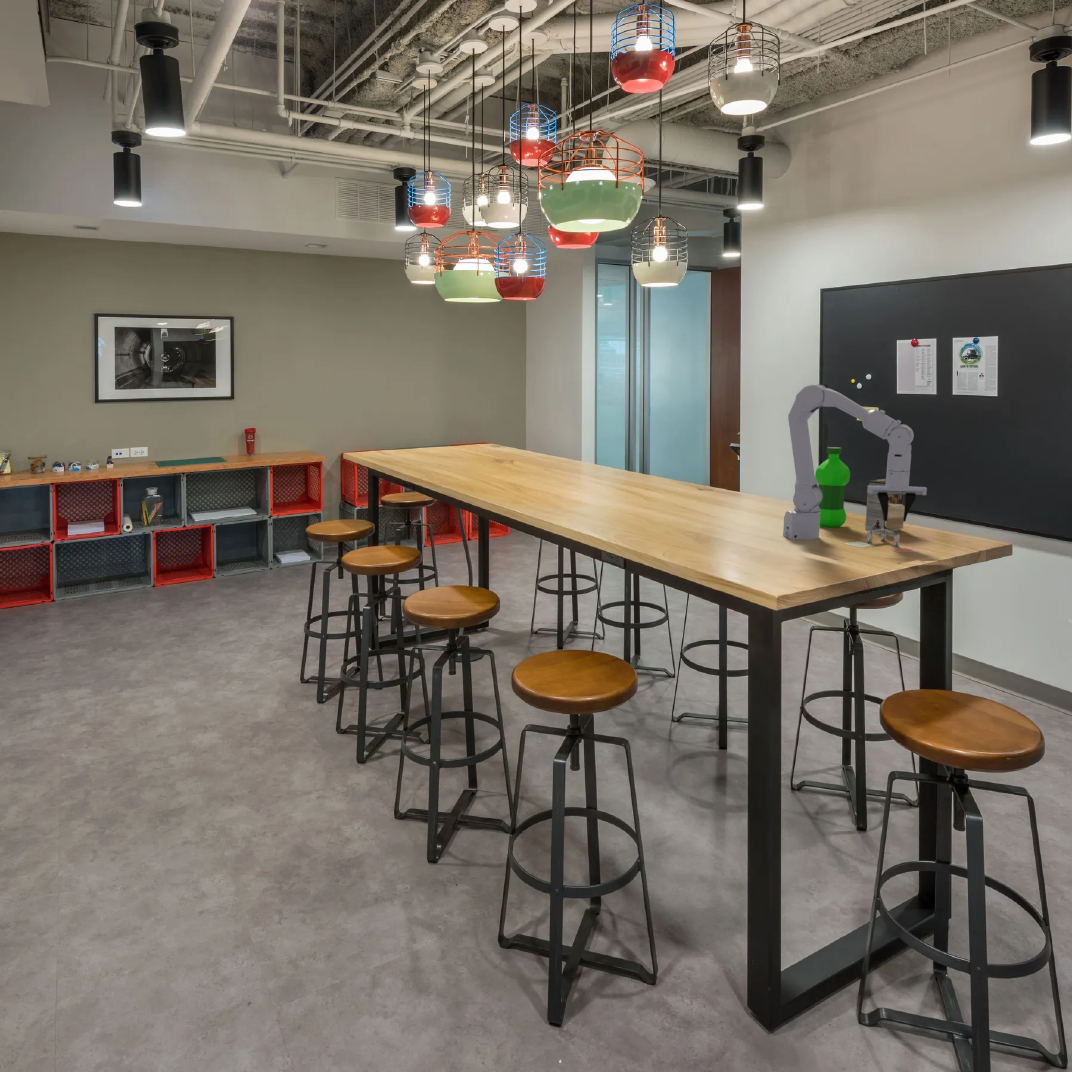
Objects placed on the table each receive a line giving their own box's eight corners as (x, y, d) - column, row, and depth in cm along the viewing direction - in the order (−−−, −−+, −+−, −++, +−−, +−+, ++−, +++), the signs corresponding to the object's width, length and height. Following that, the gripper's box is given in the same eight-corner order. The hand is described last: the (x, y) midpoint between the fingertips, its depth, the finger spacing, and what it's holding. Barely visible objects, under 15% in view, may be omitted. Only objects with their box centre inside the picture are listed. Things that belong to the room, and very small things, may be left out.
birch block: (902, 528, 219) (904, 506, 218) (886, 527, 220) (888, 505, 219) (900, 526, 223) (902, 504, 221) (884, 525, 224) (886, 503, 222)
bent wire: (878, 548, 219) (879, 535, 218) (861, 541, 228) (862, 529, 227) (902, 547, 219) (903, 534, 219) (884, 540, 229) (885, 528, 228)
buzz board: (865, 558, 212) (866, 553, 211) (833, 543, 230) (833, 539, 229) (924, 556, 213) (924, 552, 213) (887, 542, 231) (887, 538, 231)
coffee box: (880, 530, 251) (884, 478, 248) (900, 533, 246) (905, 480, 243) (863, 533, 245) (867, 480, 242) (883, 536, 240) (887, 482, 237)
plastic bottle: (851, 531, 249) (857, 449, 244) (817, 531, 249) (822, 449, 245) (840, 525, 259) (845, 446, 254) (807, 525, 259) (811, 446, 254)
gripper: (924, 469, 220) (920, 519, 223) (867, 468, 224) (863, 517, 227) (929, 472, 214) (925, 523, 216) (870, 471, 217) (867, 521, 220)
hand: (894, 520), depth 221 cm, fingers closed on birch block, 4 cm apart
